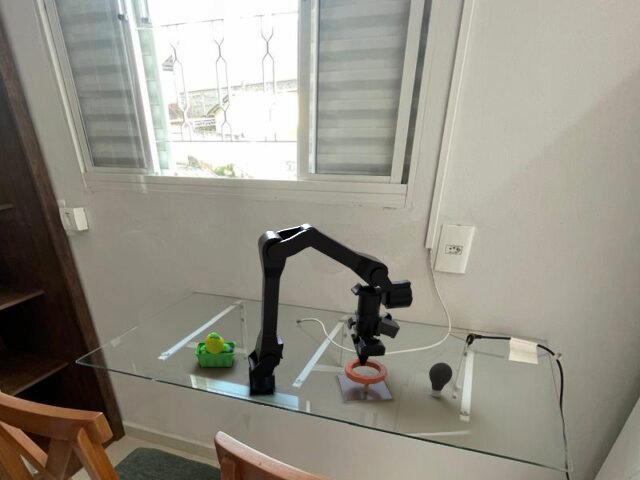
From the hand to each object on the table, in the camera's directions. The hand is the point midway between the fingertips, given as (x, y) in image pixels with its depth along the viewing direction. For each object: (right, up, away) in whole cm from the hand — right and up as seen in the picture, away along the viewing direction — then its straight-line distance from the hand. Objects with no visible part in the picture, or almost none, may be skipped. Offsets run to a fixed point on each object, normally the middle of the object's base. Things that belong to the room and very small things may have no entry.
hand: (361, 363), depth 114 cm
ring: (0, -3, -3) cm, 5 cm away
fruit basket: (-42, +1, +10) cm, 43 cm away
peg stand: (0, -7, -1) cm, 7 cm away
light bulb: (+19, -9, -4) cm, 21 cm away
